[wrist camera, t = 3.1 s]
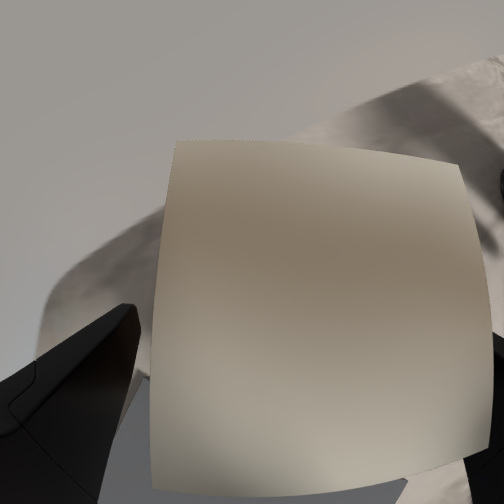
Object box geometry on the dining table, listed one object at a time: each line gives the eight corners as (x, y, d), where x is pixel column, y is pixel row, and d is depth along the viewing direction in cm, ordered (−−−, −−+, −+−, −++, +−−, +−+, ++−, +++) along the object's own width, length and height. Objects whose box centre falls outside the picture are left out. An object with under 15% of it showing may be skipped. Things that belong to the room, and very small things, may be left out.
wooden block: (318, 392, 15) (488, 447, 3) (221, 392, 15) (152, 488, 3) (317, 299, 16) (458, 165, 5) (223, 298, 16) (176, 141, 5)
